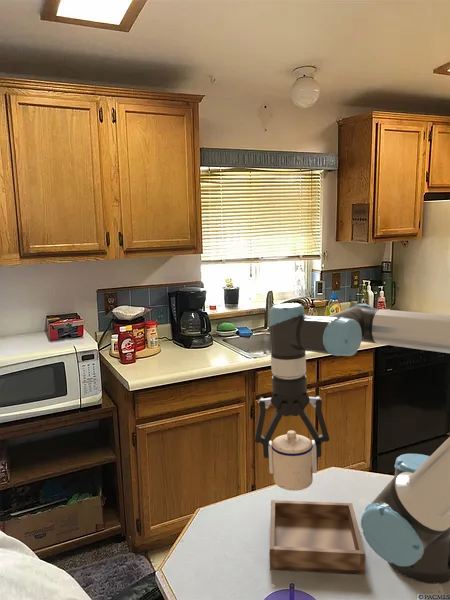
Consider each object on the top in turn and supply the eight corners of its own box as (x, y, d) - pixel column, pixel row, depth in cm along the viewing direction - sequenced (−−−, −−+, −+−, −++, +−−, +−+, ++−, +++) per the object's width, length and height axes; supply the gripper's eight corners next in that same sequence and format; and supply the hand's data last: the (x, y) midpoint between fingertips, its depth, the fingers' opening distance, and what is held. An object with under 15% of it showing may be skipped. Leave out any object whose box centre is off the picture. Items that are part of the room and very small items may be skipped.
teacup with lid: (321, 486, 103) (320, 435, 101) (284, 496, 100) (282, 444, 98) (295, 462, 114) (293, 416, 112) (260, 470, 111) (258, 423, 109)
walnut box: (352, 521, 117) (352, 503, 116) (364, 574, 99) (365, 553, 99) (271, 518, 119) (271, 500, 119) (270, 569, 102) (269, 549, 101)
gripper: (336, 367, 106) (339, 461, 109) (240, 370, 108) (245, 462, 111) (342, 377, 98) (344, 478, 102) (238, 381, 100) (244, 479, 104)
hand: (292, 470), depth 106 cm, fingers closed on teacup with lid, 9 cm apart
